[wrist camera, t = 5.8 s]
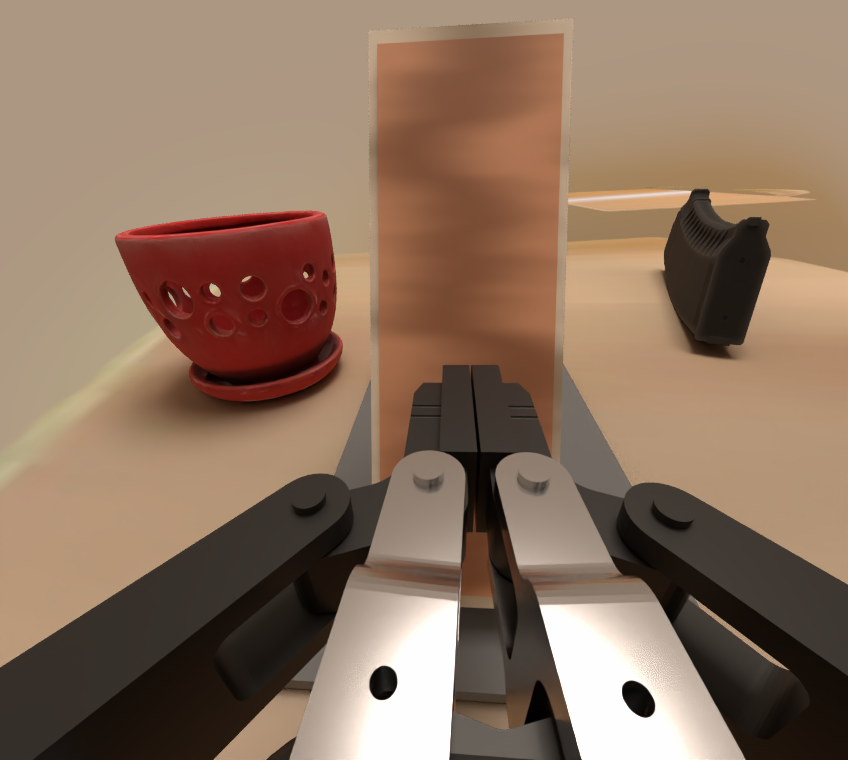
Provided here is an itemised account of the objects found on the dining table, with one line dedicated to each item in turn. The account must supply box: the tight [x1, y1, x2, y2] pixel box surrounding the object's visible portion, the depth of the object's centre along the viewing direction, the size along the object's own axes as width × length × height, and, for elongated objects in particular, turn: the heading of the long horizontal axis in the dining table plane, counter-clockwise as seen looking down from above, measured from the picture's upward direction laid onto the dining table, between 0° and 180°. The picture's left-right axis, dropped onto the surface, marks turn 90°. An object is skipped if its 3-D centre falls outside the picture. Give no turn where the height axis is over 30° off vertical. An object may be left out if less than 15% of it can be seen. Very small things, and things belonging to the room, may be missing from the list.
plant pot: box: [115, 211, 343, 401], centre depth 28 cm, size 13×13×12 cm
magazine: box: [664, 189, 771, 346], centre depth 40 cm, size 17×3×30 cm
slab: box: [368, 19, 573, 609], centre depth 13 cm, size 6×3×18 cm, turn 86°
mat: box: [284, 364, 699, 703], centre depth 21 cm, size 15×22×1 cm
